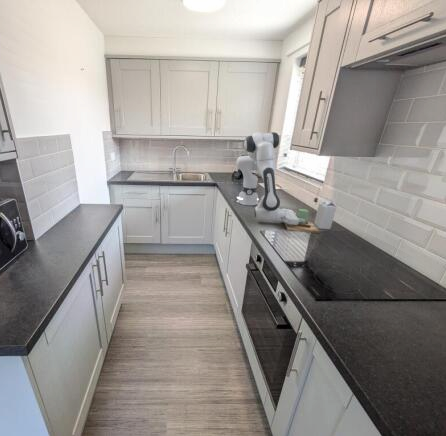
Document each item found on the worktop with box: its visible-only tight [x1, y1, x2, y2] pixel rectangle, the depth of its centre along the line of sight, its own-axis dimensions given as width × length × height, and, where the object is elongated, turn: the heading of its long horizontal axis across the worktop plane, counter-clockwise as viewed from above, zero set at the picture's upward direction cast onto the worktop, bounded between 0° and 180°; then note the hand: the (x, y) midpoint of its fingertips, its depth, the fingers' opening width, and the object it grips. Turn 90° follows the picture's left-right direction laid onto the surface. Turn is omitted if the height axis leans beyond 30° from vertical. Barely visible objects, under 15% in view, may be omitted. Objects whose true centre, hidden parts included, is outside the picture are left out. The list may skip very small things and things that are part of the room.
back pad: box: [297, 208, 310, 224], centre depth 146 cm, size 4×5×10 cm
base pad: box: [282, 220, 320, 234], centre depth 148 cm, size 16×18×3 cm
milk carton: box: [313, 197, 337, 230], centre depth 146 cm, size 7×7×19 cm
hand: (303, 218), depth 146 cm, fingers open, 6 cm apart
